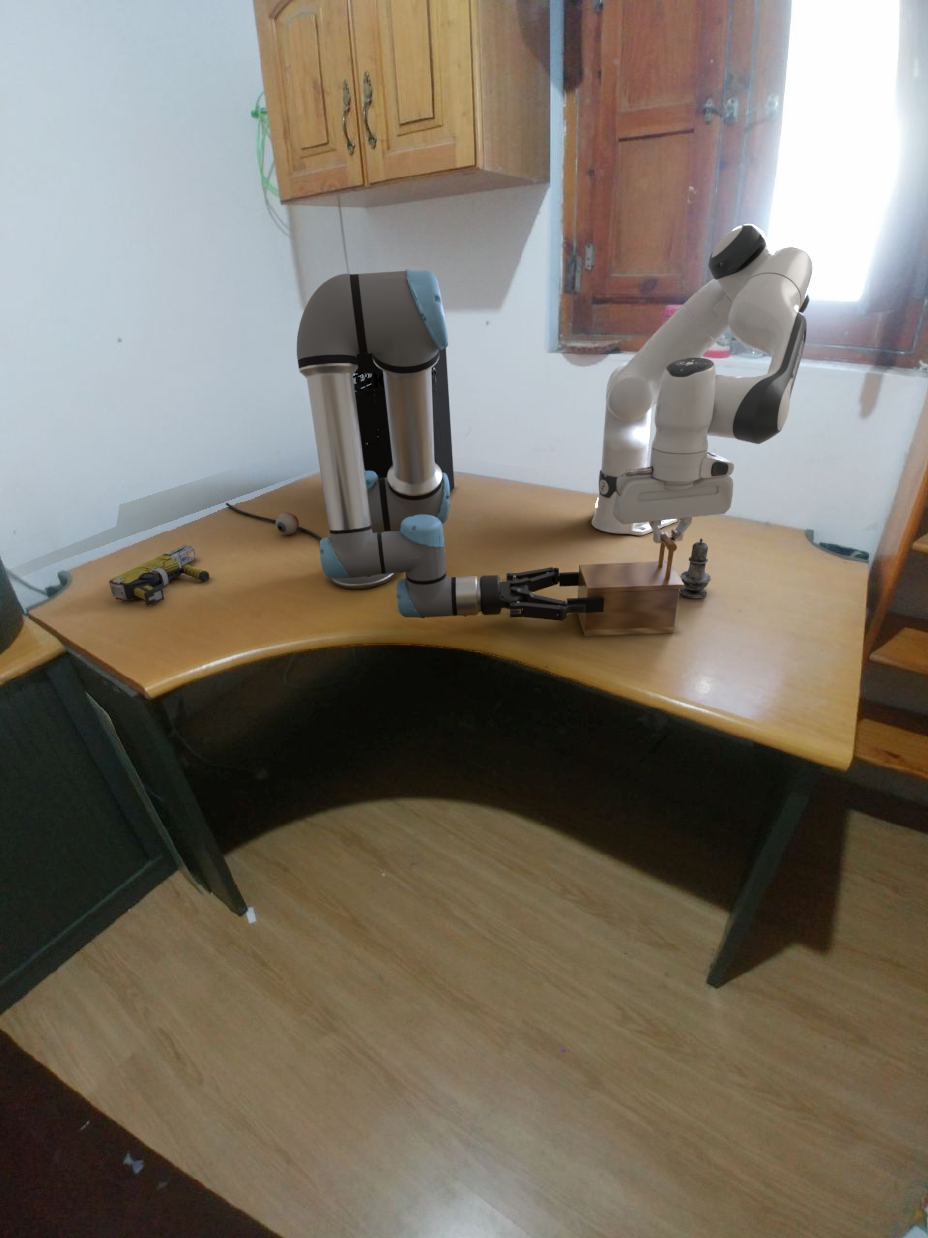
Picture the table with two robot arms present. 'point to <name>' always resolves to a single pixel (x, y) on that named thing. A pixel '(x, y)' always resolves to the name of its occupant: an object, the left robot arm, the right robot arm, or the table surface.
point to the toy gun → (155, 576)
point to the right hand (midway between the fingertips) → (667, 540)
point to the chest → (630, 612)
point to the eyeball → (287, 523)
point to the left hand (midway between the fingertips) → (597, 590)
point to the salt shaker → (696, 572)
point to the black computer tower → (376, 417)
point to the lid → (633, 574)
